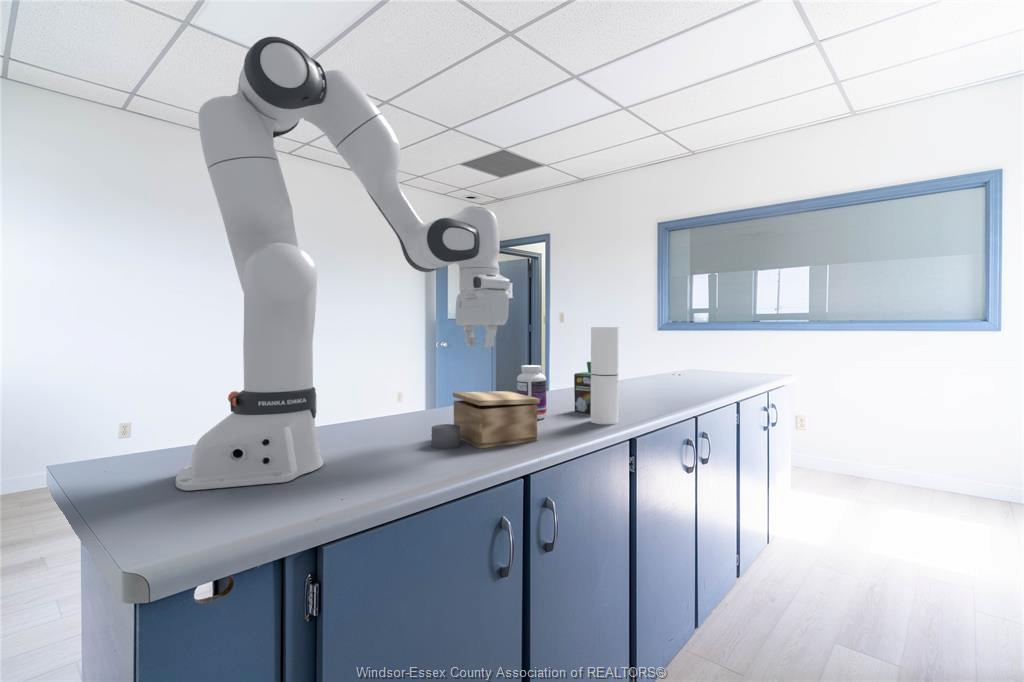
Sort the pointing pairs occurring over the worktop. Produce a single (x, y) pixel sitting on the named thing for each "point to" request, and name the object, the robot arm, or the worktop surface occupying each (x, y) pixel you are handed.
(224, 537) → the worktop surface
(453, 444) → the smooth gray rounded object
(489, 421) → the box
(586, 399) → the chalk box
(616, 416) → the cylindrical container
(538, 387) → the pill bottle
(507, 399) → the lid
